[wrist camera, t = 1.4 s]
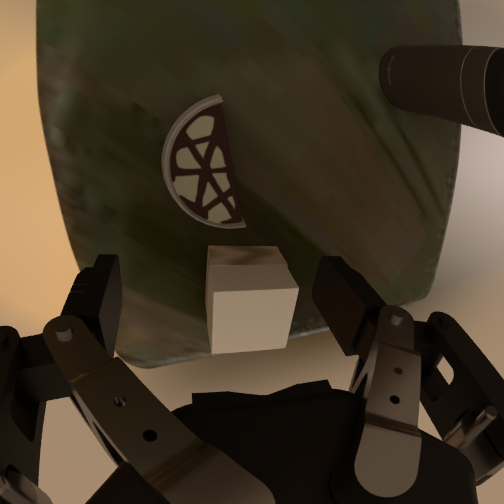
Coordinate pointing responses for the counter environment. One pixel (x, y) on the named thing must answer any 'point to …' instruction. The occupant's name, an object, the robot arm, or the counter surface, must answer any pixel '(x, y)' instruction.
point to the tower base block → (241, 258)
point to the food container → (202, 166)
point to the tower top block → (250, 307)
